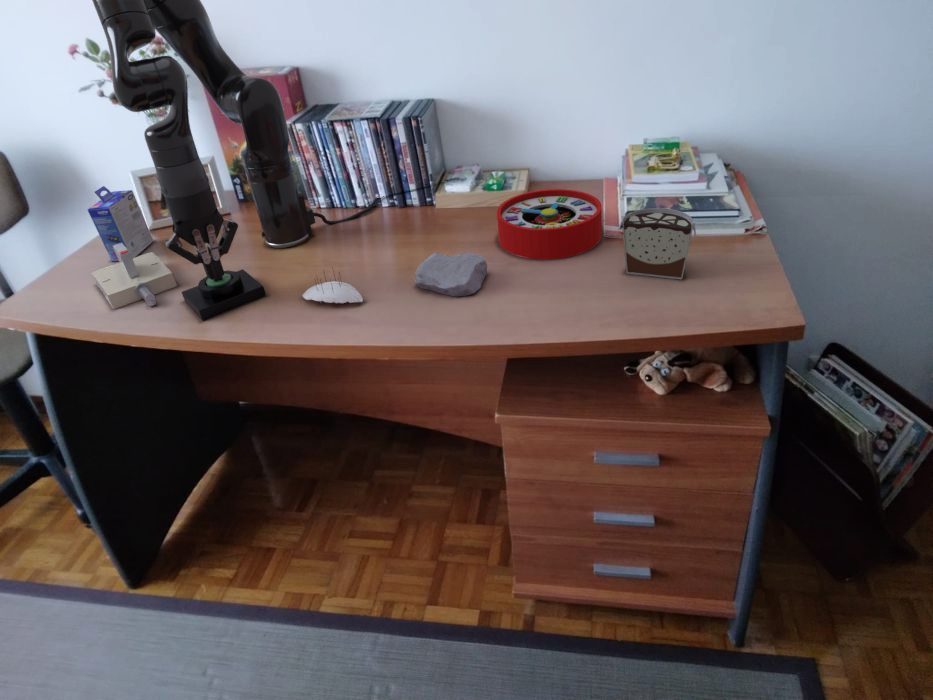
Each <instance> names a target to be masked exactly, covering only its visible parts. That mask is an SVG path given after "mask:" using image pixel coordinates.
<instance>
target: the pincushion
mask: <svg viewBox="0 0 933 700" xmlns="http://www.w3.org/2000/svg"><path fill="white" fill-rule="evenodd" d="M331 267H332V269H334V267H333V266H331ZM332 272H333V273H335V271H334V270H332ZM323 274H324V278H325V282H322V280H321V279H318V275H315V276H316V280H317V281H319V280H320V282H321V283H319V282H316V280H314V281H315V283H317V284H314V285H313V286H311V287H309V288H308V289H306V291H304V293H302V295H301V296H302V298H303V299H304V300H306V301H315V302H320V304H322V302H324V303H325V304H326V305H327V304H329V303H330V304H332V303H335V305H337V304H344V303H345V304H347V302H348V303H349V304H352V303H362V302H363V301H364V300H363V297H362V296H361V294H360V293H359V291H358V290H357V288H355V286H353V285H351V284H350V283H347V282H343V281H337V280H336V278H334V280H335V281H334V280H333V281H331V279H329V280H330V281H327V277H326V274H325V269H323ZM338 275H339V277H337V279H338V280H342V278H341V274H340V272H338ZM333 276H334V277H336V275H335V274H333Z"/></svg>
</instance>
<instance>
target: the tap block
mask: <svg viewBox="0 0 933 700" xmlns="http://www.w3.org/2000/svg"><path fill="white" fill-rule="evenodd" d="M133 261H134V263H135V265H136V268H137V270H138V273H139V275H140V276H137V277H134V278H131V279H130V278H129V276H128V275H127V274H126V273H125V271H124V270H123V269H122V267H121V265H120V262H117V263H114V264H111V265H109V266H105V267H102V268H99V269H97V270H93V271H91V275H92V277H93V280H94V282H95V284H96V286H97V287H98V289H99V290H100V291H101V293H102V294H103V296H104V297H105V299H106V301H107V302H108V303H109V305H110V306H111V308H112V309H113V310H115V309H118V308H122V307H124V306H127V305H129V304H132V303H135V302H137V301H140V300H144V298H143V297H139V296H138V295H137V294H136V292H135V287H136V285H137V284H139V283H142V282H144V283H147V284H149V285H150V287H151V289H152V291H151V292H152V293H153V294H154V295H157V294H159V293H162V292H165V291H168V290H170V289H174V288H176V287H178V285H177V281H176V278H175V277H174V273H173V272H172V271H171V270H170V269H169V268H168V267H167V265H165V264H164V263H163V261H162V260H161V259H159V258H158V256H157V255H156V254H155V253H154V252H152V251H150V252H147V253H144V254H141V255H137V256H136V257H135V258H133Z"/></svg>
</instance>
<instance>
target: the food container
mask: <svg viewBox="0 0 933 700" xmlns="http://www.w3.org/2000/svg"><path fill="white" fill-rule="evenodd" d="M621 230H622V235H623V237H622V238H623V248H624V259H625V270H626V271H625V272H626V274H628V275H636V276H646V277H654V278H664V279H673V280H683V277H684V273H685V268H686V264H687V258H688V253H689V248H690V244H691V239H692V234H693V235H694V237H697V232H696V231H697V230H696V224H695V222H694V219H693V218H692V216H691V215H689V214H688V213H686V212H683V211H681V210H677V209H672V208H665V207H664V208H663V207H652V208H643V209H638V210H635V211H632V212H630V213H628V214H626V215H625V216H624V217H622V220H621V221H620V224H619V228H618V231H621Z"/></svg>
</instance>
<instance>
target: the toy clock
mask: <svg viewBox="0 0 933 700" xmlns="http://www.w3.org/2000/svg"><path fill="white" fill-rule="evenodd" d="M602 217H603V206H602V202H601V201H600V200H599V198H598V197H596V196H594V195H592V194H590V193H588V192H584V191H580V190H575V189H564V188H550V189H549V188H548V189H539V190H533V191H528V192H524V193H520V194H517V195H515V196H512V197H510V198H508V199H506V200H505V201H503V202H502V203H500V205H499V206H498V207H497V210H496V221H497V233H498V243H499V245H500V247H501V248H502V249H503V250H504V251H505V252H507V253H508V254H511V255H514V256H517V257H520V258H525V259H531V260H557V259H566V258H570V257H574V256H577V255H580V254H583V253H586V252H588V251H590V250H591V249H593V248H595V247H596V246H597V245H598V244H599V243H600V242H601V239H602V234H603V233H602V232H603V231H602V229H603V228H602V227H603V224H602V223H603V219H602Z"/></svg>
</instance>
